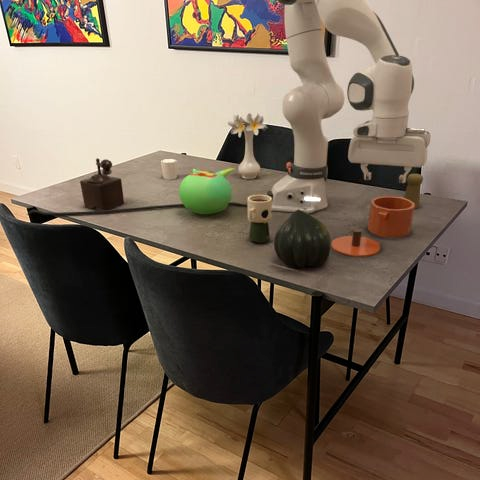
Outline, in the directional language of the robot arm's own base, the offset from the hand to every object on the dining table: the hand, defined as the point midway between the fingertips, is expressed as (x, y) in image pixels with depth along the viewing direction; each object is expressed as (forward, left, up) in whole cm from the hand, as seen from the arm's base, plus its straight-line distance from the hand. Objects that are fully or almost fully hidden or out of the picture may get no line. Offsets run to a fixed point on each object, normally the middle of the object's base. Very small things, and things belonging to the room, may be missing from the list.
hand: (384, 181), depth 131 cm
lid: (-6, -3, -18) cm, 19 cm away
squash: (-22, -13, -19) cm, 32 cm away
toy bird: (-53, +26, -19) cm, 62 cm away
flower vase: (-42, +69, -19) cm, 83 cm away
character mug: (-34, +2, -19) cm, 39 cm away
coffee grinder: (-89, +30, -19) cm, 96 cm away
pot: (+6, +11, -19) cm, 23 cm away
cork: (+18, +35, -19) cm, 44 cm away
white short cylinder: (-74, +67, -19) cm, 102 cm away
